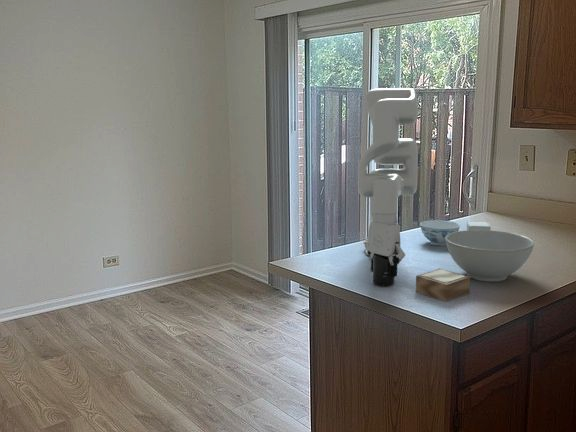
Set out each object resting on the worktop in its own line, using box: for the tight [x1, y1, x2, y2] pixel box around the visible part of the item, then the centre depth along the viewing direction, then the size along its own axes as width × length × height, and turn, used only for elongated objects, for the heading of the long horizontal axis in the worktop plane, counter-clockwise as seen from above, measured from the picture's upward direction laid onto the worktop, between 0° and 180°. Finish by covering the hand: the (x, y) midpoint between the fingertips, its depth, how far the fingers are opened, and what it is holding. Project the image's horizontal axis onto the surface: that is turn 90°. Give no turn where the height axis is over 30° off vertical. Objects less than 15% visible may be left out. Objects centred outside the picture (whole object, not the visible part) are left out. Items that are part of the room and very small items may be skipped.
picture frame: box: [415, 268, 471, 302], centre depth 170 cm, size 11×11×5 cm
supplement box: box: [466, 221, 491, 230], centre depth 204 cm, size 7×7×13 cm
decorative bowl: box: [445, 229, 535, 282], centre depth 184 cm, size 27×27×12 cm
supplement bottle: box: [372, 254, 396, 287], centre depth 178 cm, size 7×7×12 cm
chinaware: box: [420, 219, 461, 246], centre depth 225 cm, size 15×15×8 cm
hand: (383, 273), depth 178 cm, fingers closed on supplement bottle, 6 cm apart
